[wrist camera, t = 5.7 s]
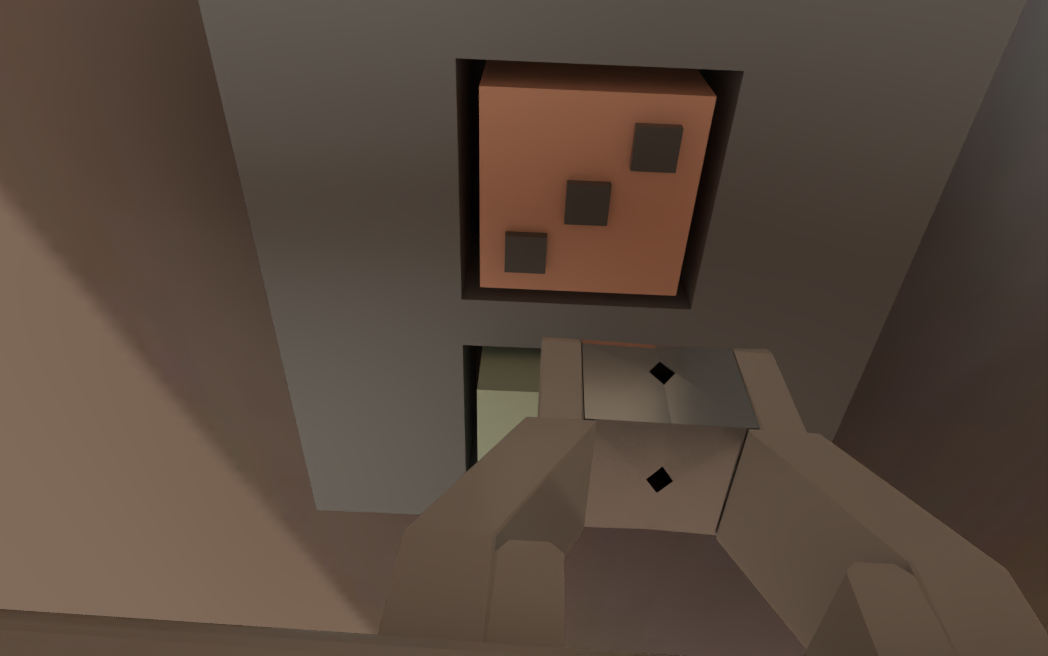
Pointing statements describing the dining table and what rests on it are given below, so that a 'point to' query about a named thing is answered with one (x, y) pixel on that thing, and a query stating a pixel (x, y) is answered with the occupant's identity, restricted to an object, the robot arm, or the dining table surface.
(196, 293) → the dining table surface
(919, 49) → the button panel
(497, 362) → the button two
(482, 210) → the button three
